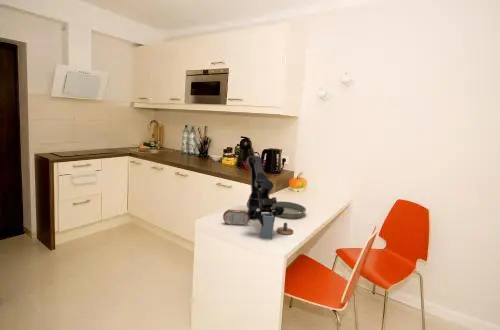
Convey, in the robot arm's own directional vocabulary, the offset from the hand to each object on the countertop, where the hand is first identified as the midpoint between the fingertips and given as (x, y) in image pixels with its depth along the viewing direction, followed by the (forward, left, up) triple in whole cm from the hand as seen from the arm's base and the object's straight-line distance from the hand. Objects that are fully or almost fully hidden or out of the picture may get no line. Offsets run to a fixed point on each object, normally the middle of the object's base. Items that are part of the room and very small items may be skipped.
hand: (267, 225), depth 147 cm
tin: (-20, -11, -7) cm, 24 cm away
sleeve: (-1, 0, -7) cm, 7 cm away
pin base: (-6, +13, -7) cm, 16 cm away
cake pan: (-35, +28, -7) cm, 46 cm away
